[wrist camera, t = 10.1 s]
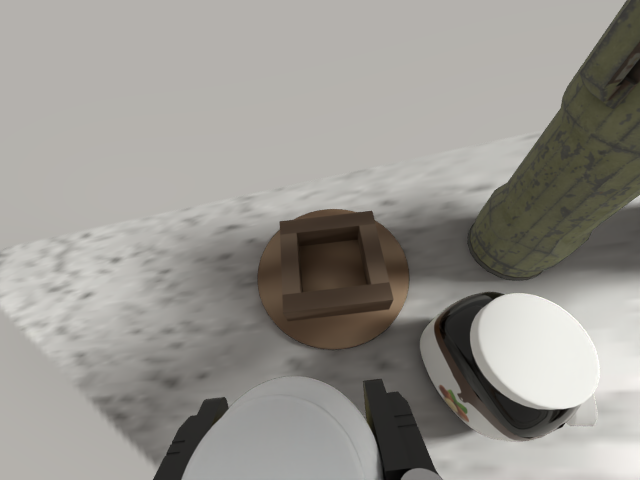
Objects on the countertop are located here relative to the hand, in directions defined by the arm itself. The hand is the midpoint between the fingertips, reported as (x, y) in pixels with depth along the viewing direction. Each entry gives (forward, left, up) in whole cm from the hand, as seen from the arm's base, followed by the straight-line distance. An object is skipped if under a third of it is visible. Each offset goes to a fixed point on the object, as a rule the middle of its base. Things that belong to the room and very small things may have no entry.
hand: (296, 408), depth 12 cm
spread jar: (-10, -13, -18) cm, 24 cm away
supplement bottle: (-1, +1, -4) cm, 5 cm away
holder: (+8, -12, -18) cm, 23 cm away
